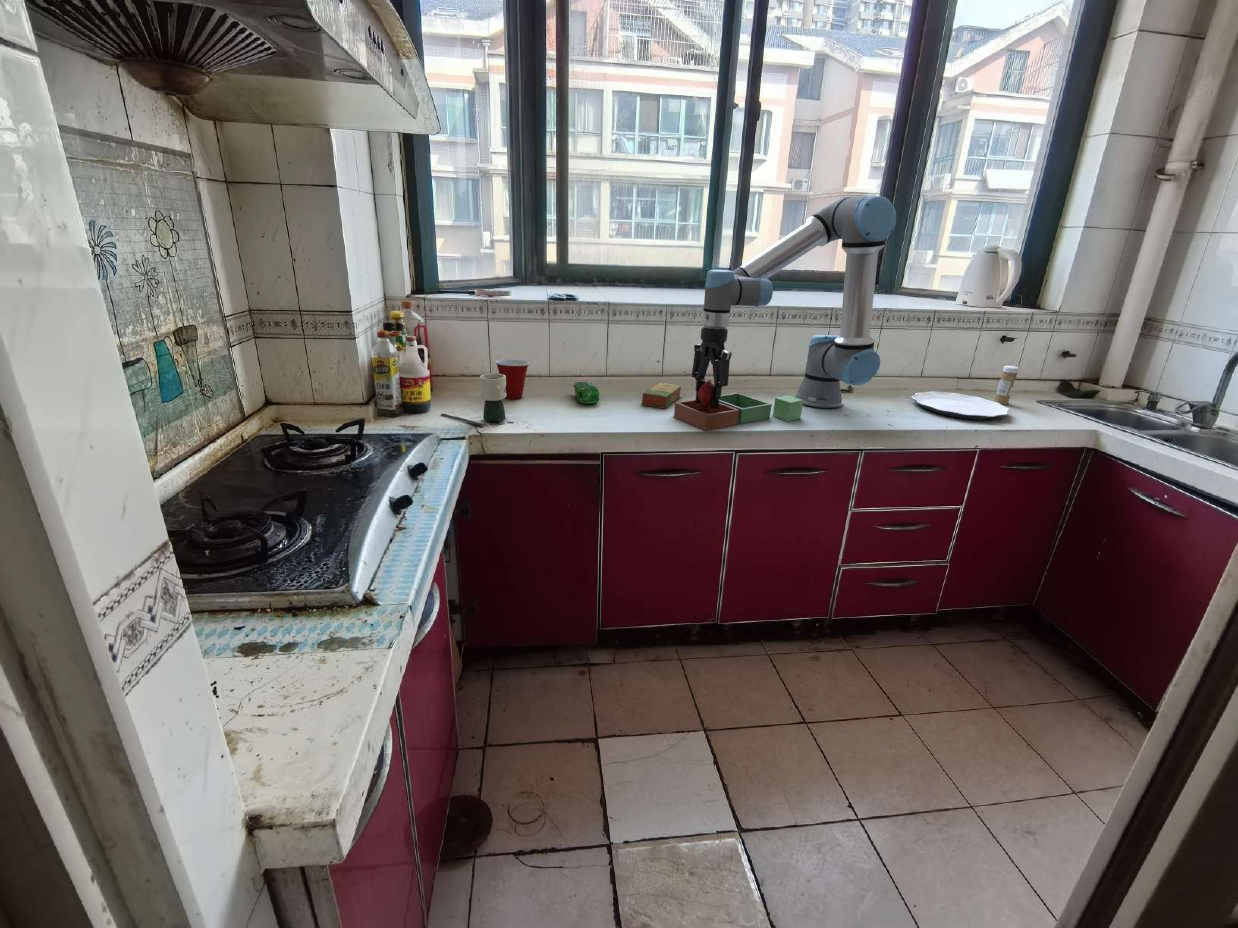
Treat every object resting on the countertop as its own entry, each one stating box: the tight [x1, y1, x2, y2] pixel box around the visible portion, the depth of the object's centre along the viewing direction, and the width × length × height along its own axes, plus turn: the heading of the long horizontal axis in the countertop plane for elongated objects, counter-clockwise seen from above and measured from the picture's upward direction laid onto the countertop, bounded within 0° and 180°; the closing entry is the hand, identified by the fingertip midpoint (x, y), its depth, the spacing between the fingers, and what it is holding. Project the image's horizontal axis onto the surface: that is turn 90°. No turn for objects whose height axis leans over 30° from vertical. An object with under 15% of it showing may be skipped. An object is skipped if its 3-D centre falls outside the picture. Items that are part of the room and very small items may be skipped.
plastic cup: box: [494, 359, 530, 400], centre depth 191 cm, size 11×11×12 cm
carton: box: [641, 382, 682, 409], centre depth 196 cm, size 8×16×4 cm, turn 158°
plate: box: [911, 390, 1011, 421], centre depth 203 cm, size 29×29×2 cm
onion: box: [698, 379, 714, 406], centre depth 176 cm, size 6×6×8 cm
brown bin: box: [673, 398, 739, 431], centre depth 178 cm, size 13×15×5 cm
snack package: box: [573, 381, 600, 405], centre depth 193 cm, size 7×16×5 cm, turn 12°
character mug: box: [479, 373, 507, 423], centre depth 168 cm, size 11×7×13 cm, turn 31°
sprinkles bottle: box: [993, 365, 1020, 406], centre depth 211 cm, size 5×5×13 cm
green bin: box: [719, 392, 772, 425], centre depth 186 cm, size 13×15×5 cm
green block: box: [772, 395, 803, 422], centre depth 185 cm, size 6×6×6 cm
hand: (706, 404), depth 177 cm, fingers closed on onion, 6 cm apart
